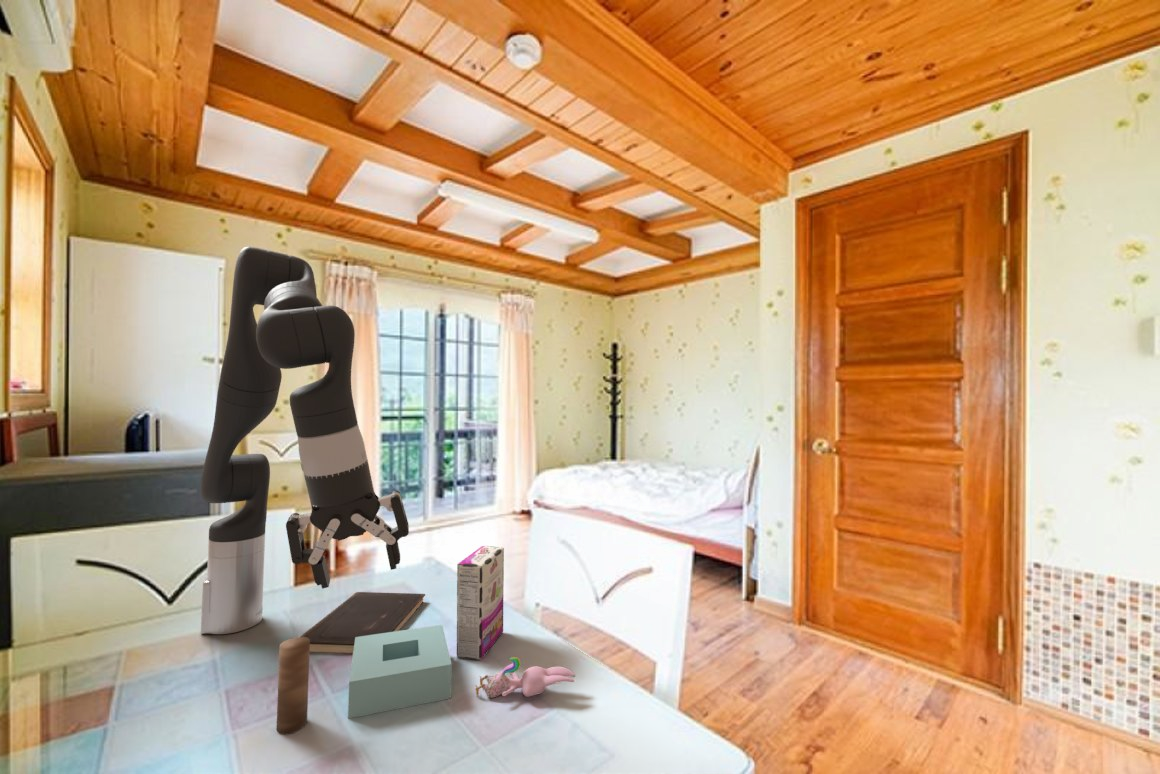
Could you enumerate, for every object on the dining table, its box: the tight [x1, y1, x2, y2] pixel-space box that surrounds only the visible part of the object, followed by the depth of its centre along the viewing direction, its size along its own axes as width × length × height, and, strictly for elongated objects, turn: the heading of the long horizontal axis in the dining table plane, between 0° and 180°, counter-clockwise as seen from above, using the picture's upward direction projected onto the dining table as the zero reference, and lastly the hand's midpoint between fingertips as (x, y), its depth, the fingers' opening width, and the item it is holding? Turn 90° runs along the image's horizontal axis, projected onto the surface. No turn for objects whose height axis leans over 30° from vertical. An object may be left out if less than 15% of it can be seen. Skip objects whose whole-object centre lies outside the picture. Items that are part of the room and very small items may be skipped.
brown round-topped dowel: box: [276, 636, 311, 735], centre depth 67 cm, size 4×4×11 cm
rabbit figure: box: [475, 656, 576, 699], centre depth 75 cm, size 6×6×15 cm
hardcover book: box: [299, 591, 426, 654], centre depth 98 cm, size 16×23×2 cm
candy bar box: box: [456, 545, 505, 661], centre depth 90 cm, size 11×5×16 cm, turn 168°
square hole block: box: [347, 624, 453, 719], centre depth 78 cm, size 14×14×5 cm
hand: (360, 575), depth 67 cm, fingers open, 8 cm apart
